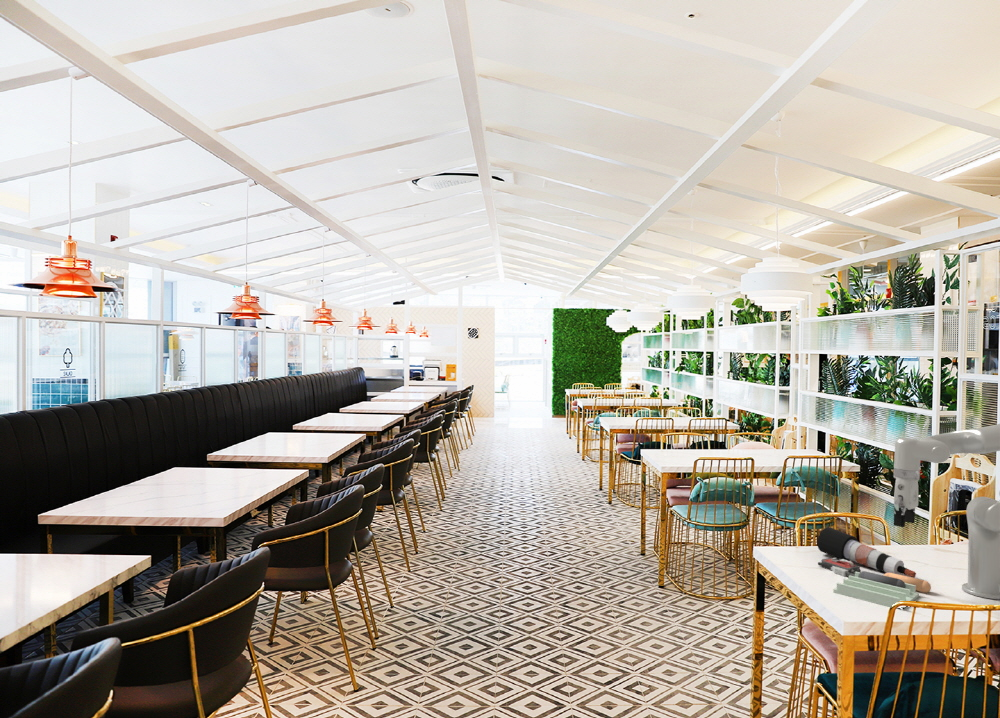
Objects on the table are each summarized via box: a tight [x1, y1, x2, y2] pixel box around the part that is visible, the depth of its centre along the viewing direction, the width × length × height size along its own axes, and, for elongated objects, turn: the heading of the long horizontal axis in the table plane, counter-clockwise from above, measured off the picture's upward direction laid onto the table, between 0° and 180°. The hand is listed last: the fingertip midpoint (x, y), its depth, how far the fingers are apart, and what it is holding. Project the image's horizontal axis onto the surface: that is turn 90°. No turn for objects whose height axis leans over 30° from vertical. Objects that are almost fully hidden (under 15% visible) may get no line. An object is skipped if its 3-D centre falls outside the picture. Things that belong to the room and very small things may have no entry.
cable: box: [816, 526, 917, 578], centre depth 240 cm, size 10×34×10 cm, turn 28°
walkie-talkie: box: [817, 557, 862, 577], centre depth 232 cm, size 9×4×20 cm
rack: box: [832, 572, 920, 610], centre depth 211 cm, size 20×18×3 cm
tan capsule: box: [883, 572, 932, 594], centre depth 218 cm, size 14×4×4 cm, turn 43°
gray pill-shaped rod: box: [858, 570, 906, 588], centre depth 215 cm, size 14×4×4 cm, turn 43°
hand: (904, 524), depth 221 cm, fingers open, 9 cm apart
